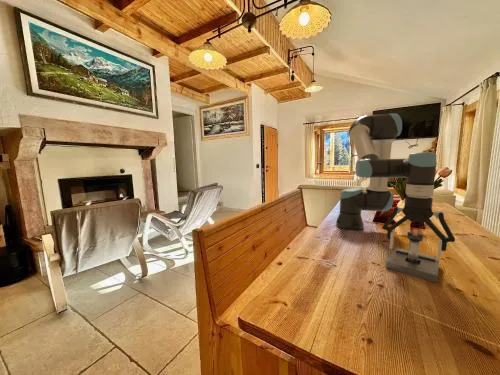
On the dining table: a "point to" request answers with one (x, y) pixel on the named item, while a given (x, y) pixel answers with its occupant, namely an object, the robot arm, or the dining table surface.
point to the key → (414, 245)
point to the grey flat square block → (414, 265)
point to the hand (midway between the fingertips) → (413, 253)
